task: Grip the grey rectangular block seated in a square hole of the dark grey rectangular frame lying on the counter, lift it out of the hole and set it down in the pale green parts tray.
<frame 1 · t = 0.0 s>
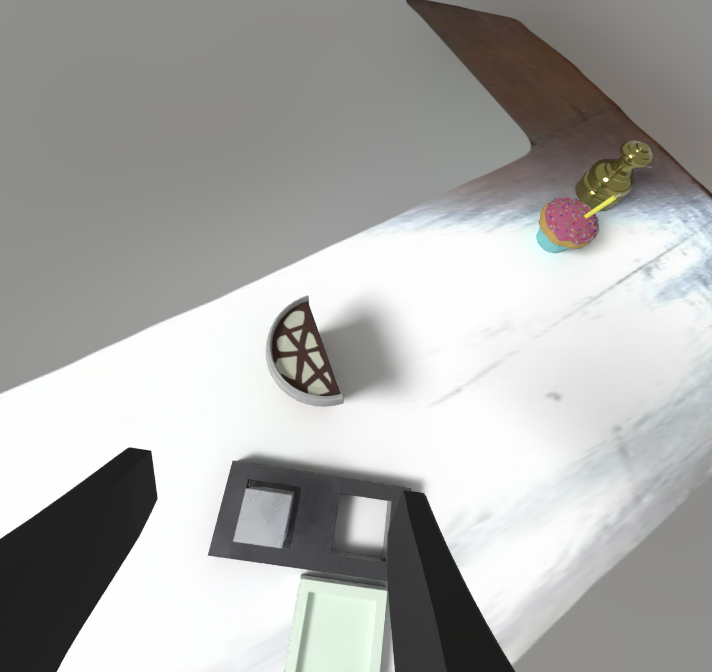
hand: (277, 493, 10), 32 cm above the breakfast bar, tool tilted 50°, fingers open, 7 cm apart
food container: (299, 376, 44), on the breakfast bar
cupcake: (548, 241, 57), on the breakfast bar
grey rectangular block: (270, 510, 38), resting in dark grey rectangular frame
dark grey rectangular frame: (315, 517, 39), on the breakfast bar
parts tray: (336, 633, 35), on the breakfast bar
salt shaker: (593, 195, 62), on the breakfast bar
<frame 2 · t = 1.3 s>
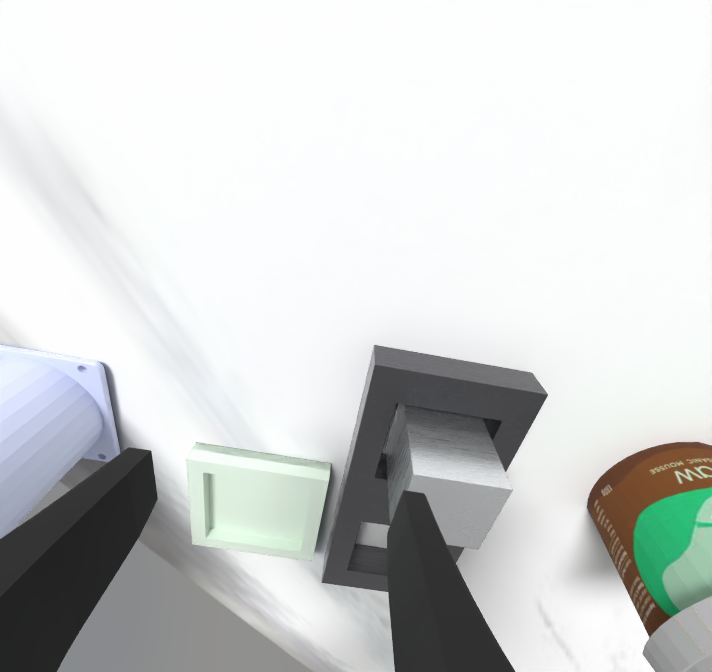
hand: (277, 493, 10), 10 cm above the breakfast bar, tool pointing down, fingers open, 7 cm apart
food container: (661, 462, 23), on the breakfast bar
grey rectangular block: (428, 425, 22), resting in dark grey rectangular frame
dark grey rectangular frame: (409, 481, 24), on the breakfast bar
parts tray: (260, 497, 25), on the breakfast bar
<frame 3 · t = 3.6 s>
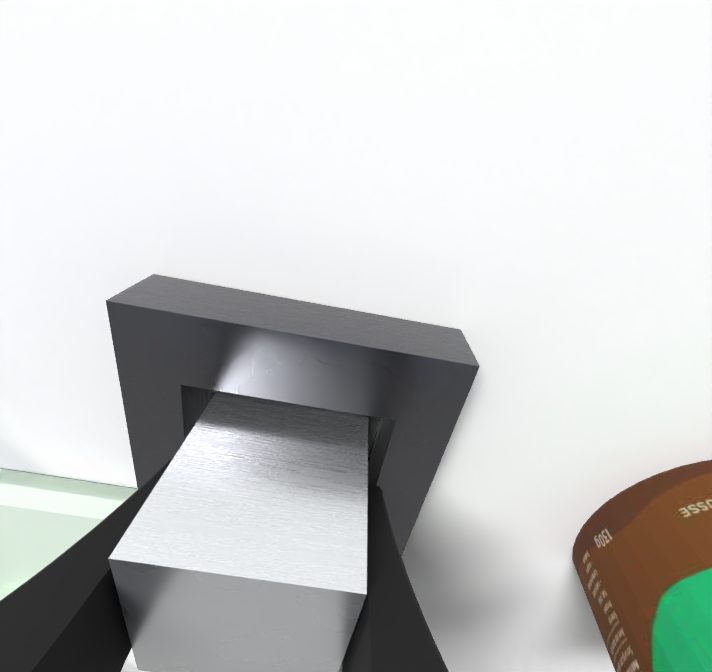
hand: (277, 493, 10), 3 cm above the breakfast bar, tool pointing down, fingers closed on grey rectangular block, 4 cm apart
food container: (694, 490, 13), on the breakfast bar
grey rectangular block: (294, 430, 12), resting in dark grey rectangular frame, touching gripper
dark grey rectangular frame: (282, 518, 15), on the breakfast bar
parts tray: (60, 540, 16), on the breakfast bar
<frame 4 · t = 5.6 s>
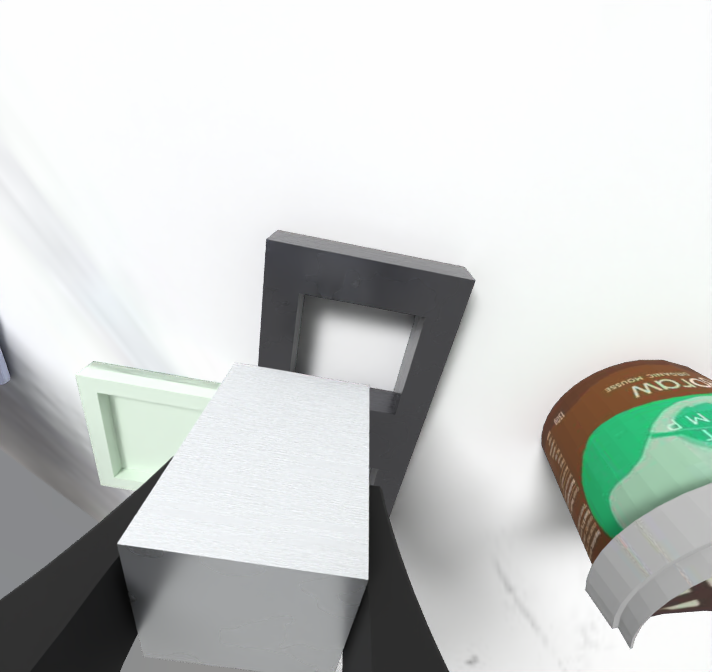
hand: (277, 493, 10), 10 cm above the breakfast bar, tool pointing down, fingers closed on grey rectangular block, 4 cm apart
food container: (622, 387, 20), on the breakfast bar
grey rectangular block: (296, 424, 13), point 7 cm above the breakfast bar, touching gripper
dark grey rectangular frame: (338, 411, 21), on the breakfast bar
parts tray: (176, 431, 22), on the breakfast bar
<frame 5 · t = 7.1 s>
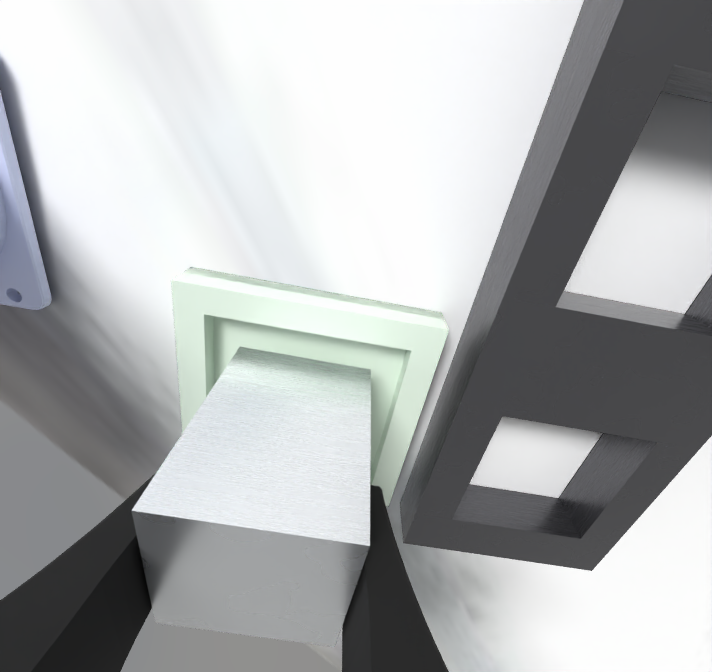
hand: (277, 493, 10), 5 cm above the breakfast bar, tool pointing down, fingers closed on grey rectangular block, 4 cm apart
grey rectangular block: (299, 408, 13), point 2 cm above the breakfast bar, touching gripper
dark grey rectangular frame: (579, 350, 13), on the breakfast bar
parts tray: (304, 390, 14), on the breakfast bar
when the fingers open (5 cm above the breakfast bar, at t = 8.0 s): grey rectangular block stays where it is, resting on parts tray.
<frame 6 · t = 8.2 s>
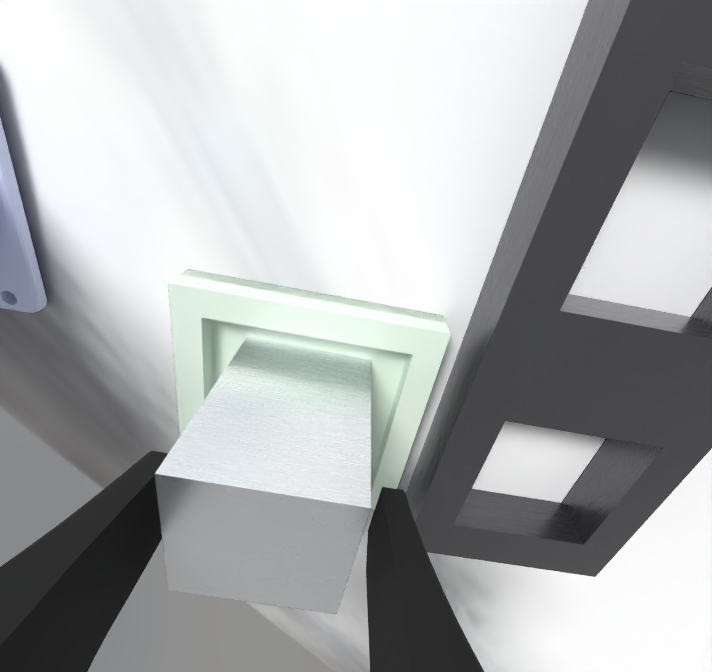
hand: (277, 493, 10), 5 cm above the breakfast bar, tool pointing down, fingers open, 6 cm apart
grey rectangular block: (302, 397, 14), point 1 cm above the breakfast bar, touching parts tray
dark grey rectangular frame: (583, 354, 13), on the breakfast bar
parts tray: (304, 394, 14), on the breakfast bar
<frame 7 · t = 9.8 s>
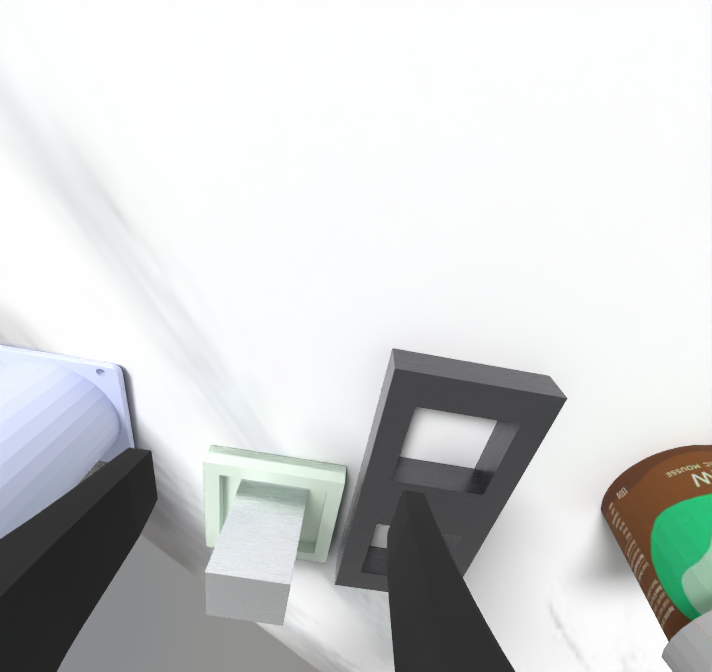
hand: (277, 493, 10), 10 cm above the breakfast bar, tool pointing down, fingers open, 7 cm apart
food container: (676, 465, 23), on the breakfast bar
grey rectangular block: (273, 503, 25), point 1 cm above the breakfast bar, touching parts tray
dark grey rectangular frame: (423, 483, 24), on the breakfast bar
parts tray: (275, 499, 25), on the breakfast bar
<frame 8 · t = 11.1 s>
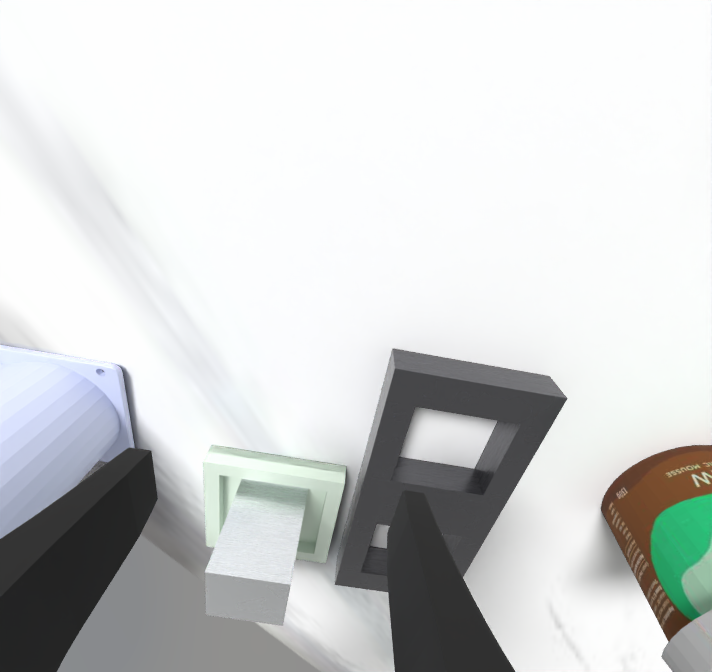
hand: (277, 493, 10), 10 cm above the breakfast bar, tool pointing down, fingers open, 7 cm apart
food container: (676, 465, 23), on the breakfast bar
grey rectangular block: (273, 503, 25), point 1 cm above the breakfast bar, touching parts tray
dark grey rectangular frame: (423, 483, 24), on the breakfast bar
parts tray: (275, 499, 25), on the breakfast bar
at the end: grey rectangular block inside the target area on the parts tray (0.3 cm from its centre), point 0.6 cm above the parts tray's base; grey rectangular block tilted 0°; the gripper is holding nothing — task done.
